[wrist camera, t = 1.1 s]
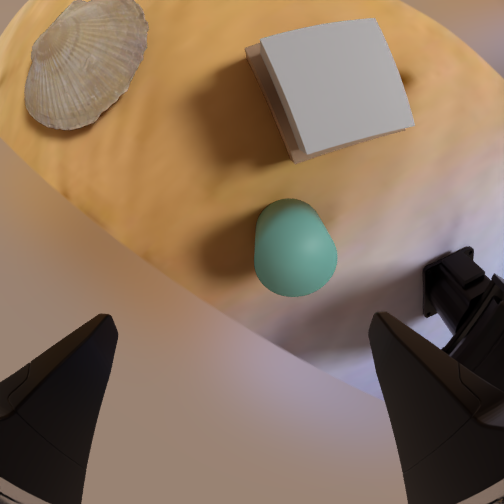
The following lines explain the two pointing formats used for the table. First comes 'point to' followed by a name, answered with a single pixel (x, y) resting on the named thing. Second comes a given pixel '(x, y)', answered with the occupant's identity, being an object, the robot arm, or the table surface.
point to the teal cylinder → (293, 249)
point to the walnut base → (279, 112)
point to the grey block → (336, 83)
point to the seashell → (85, 62)
